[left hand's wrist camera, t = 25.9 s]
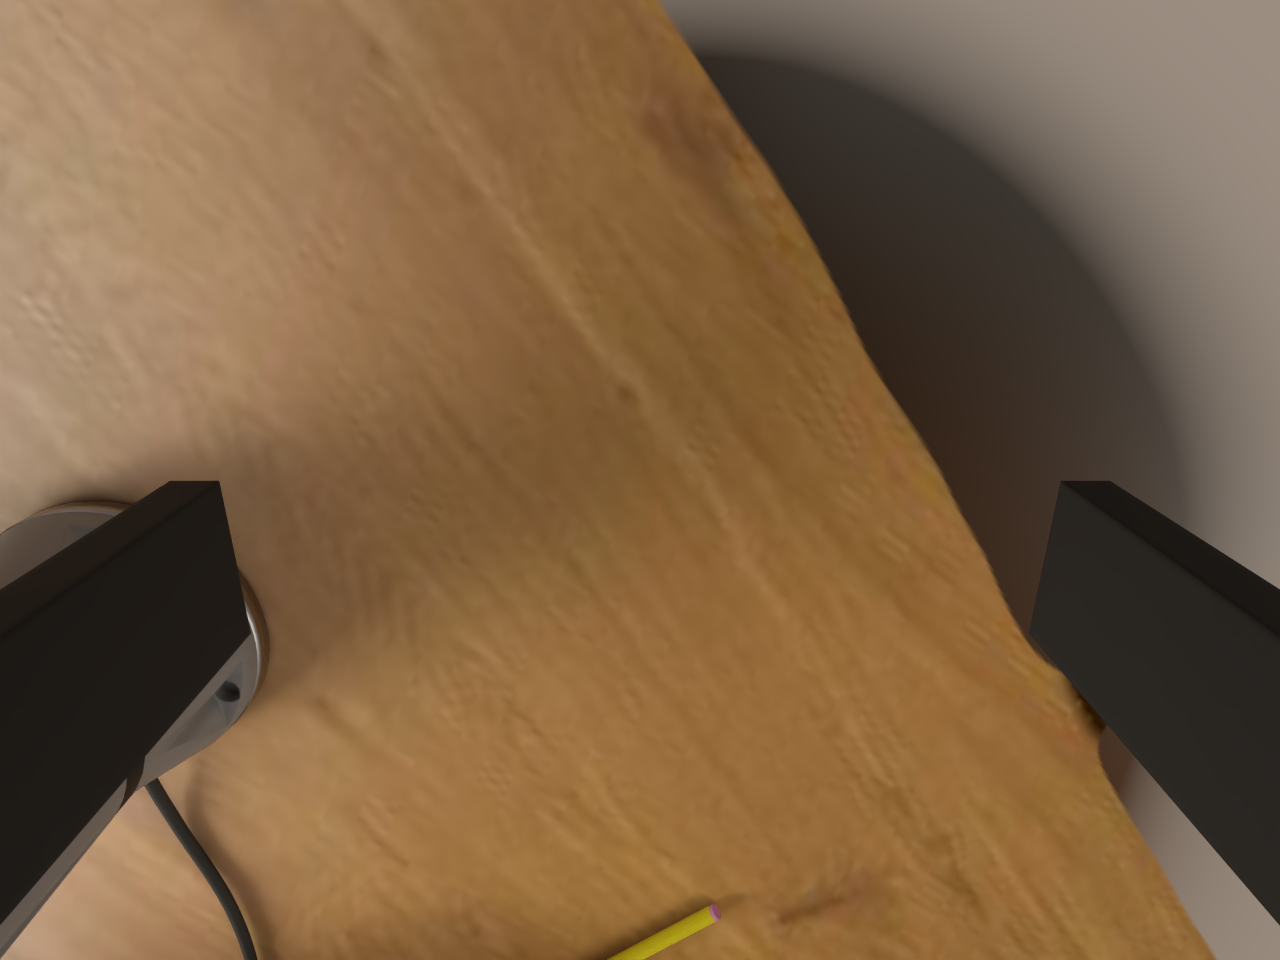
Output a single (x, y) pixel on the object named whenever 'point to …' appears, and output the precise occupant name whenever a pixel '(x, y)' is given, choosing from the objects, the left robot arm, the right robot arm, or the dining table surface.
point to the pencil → (670, 934)
